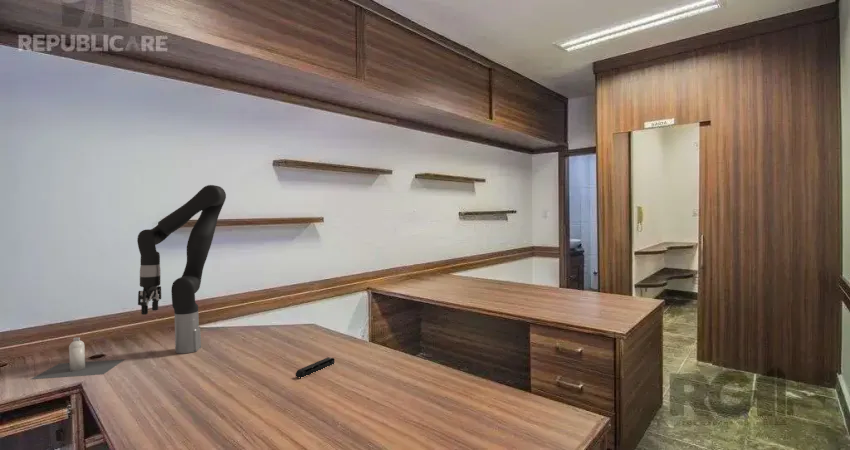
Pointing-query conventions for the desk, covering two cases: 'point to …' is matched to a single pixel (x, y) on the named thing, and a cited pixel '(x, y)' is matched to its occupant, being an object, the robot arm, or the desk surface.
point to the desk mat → (89, 369)
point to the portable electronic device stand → (315, 367)
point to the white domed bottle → (77, 355)
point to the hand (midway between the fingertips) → (150, 312)
